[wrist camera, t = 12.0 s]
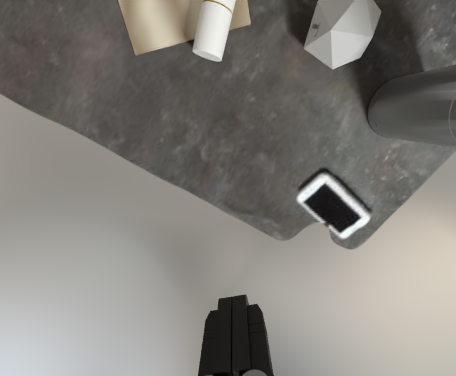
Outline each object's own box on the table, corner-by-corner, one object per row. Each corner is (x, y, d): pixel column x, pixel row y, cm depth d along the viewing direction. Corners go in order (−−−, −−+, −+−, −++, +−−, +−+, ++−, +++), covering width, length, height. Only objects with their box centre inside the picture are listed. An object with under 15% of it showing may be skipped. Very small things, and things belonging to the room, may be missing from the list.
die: (331, -9, 31) (309, -22, 24) (397, -2, 28) (392, -14, 21) (309, 56, 36) (287, 60, 30) (363, 69, 33) (350, 77, 26)
